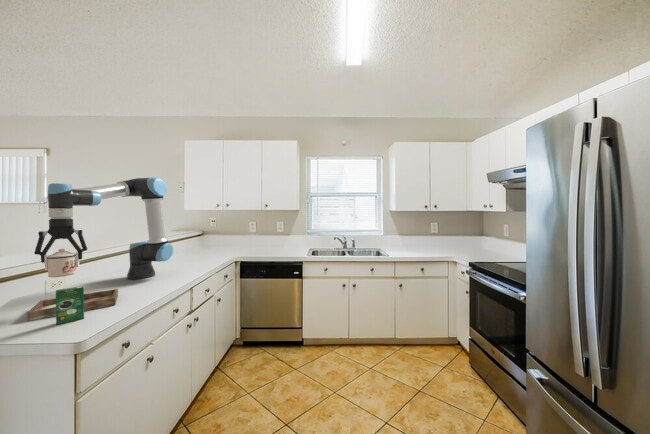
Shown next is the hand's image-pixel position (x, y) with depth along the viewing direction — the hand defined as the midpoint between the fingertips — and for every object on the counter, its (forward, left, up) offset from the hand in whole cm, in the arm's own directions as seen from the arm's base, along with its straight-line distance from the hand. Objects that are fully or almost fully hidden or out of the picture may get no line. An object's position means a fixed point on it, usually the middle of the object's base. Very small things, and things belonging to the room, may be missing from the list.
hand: (62, 268), depth 114 cm
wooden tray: (-5, +2, -18) cm, 19 cm away
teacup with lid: (-1, 0, -3) cm, 3 cm away
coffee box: (-5, +21, -18) cm, 28 cm away
